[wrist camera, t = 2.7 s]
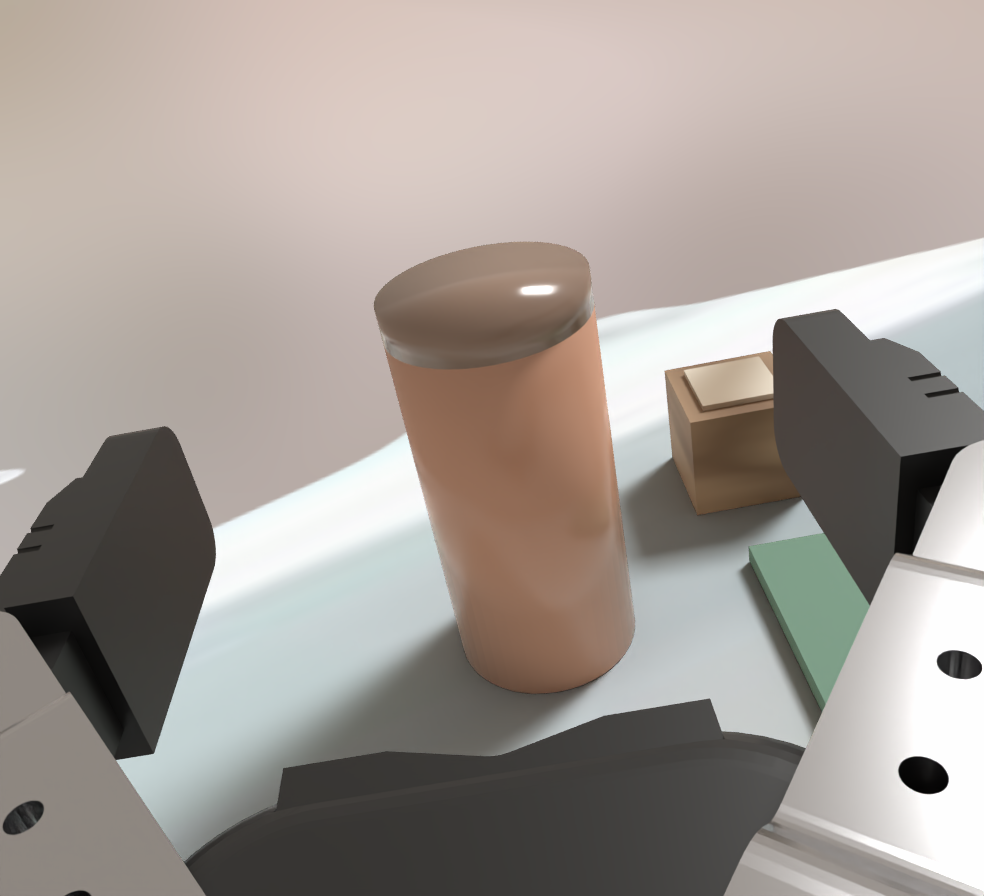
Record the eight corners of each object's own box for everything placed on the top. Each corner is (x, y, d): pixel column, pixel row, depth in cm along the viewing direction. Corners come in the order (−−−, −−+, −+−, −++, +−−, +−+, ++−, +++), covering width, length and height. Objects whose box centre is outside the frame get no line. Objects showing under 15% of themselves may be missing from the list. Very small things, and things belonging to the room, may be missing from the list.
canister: (618, 559, 32) (573, 227, 26) (651, 675, 28) (606, 304, 21) (460, 587, 33) (378, 265, 26) (465, 707, 28) (367, 349, 22)
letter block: (772, 440, 37) (770, 346, 35) (807, 497, 34) (807, 396, 31) (672, 459, 37) (664, 366, 35) (697, 516, 34) (689, 417, 32)
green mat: (1050, 507, 31) (1053, 492, 30) (1292, 747, 22) (1299, 729, 22) (749, 560, 31) (748, 546, 31) (871, 816, 22) (872, 800, 22)
